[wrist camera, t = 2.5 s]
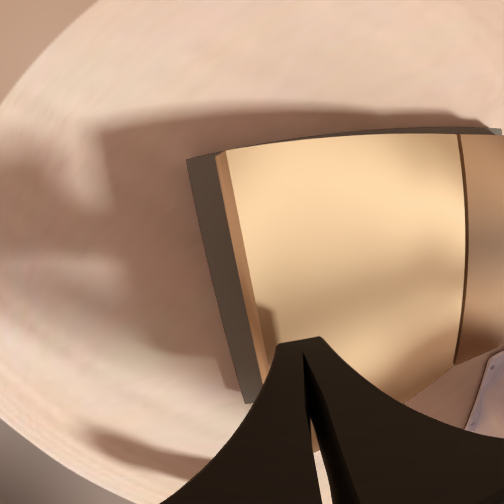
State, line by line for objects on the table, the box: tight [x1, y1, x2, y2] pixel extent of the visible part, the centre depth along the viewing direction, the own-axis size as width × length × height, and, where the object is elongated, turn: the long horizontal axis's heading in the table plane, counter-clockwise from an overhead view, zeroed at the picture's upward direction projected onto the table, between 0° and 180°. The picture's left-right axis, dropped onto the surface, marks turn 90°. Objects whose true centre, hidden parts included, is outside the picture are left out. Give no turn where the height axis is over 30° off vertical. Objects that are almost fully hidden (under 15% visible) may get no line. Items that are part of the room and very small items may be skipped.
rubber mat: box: [186, 127, 502, 404], centre depth 15 cm, size 14×18×1 cm
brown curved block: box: [453, 134, 504, 365], centre depth 13 cm, size 13×4×2 cm, turn 10°
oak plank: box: [215, 134, 465, 453], centre depth 12 cm, size 13×11×2 cm
